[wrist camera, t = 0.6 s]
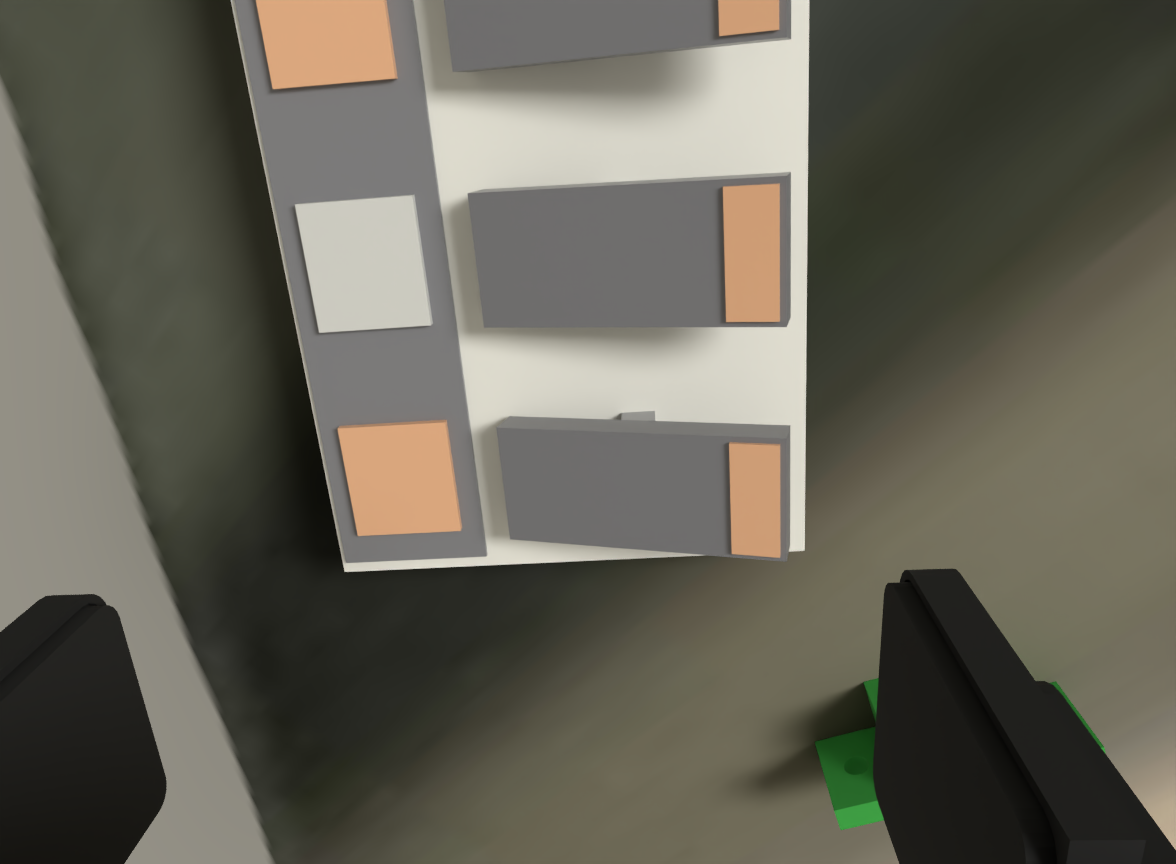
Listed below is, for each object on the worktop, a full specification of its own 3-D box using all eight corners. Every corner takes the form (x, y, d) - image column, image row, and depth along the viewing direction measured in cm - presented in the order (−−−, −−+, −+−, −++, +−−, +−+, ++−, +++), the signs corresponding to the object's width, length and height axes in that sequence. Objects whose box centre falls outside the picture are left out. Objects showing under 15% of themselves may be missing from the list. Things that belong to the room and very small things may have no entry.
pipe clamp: (1043, 631, 39) (1095, 696, 35) (1057, 697, 40) (1110, 768, 36) (798, 696, 41) (819, 766, 36) (819, 758, 42) (841, 833, 37)
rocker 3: (509, 416, 32) (494, 428, 30) (790, 425, 29) (786, 440, 27) (522, 524, 33) (508, 541, 32) (790, 544, 30) (786, 563, 29)
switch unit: (258, -100, 30) (189, -137, 25) (787, -155, 29) (817, -205, 24) (372, 526, 38) (336, 585, 34) (787, 505, 37) (809, 563, 32)
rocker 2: (482, 189, 29) (465, 193, 28) (790, 172, 26) (786, 176, 25) (498, 319, 30) (482, 328, 29) (790, 317, 27) (786, 328, 26)
